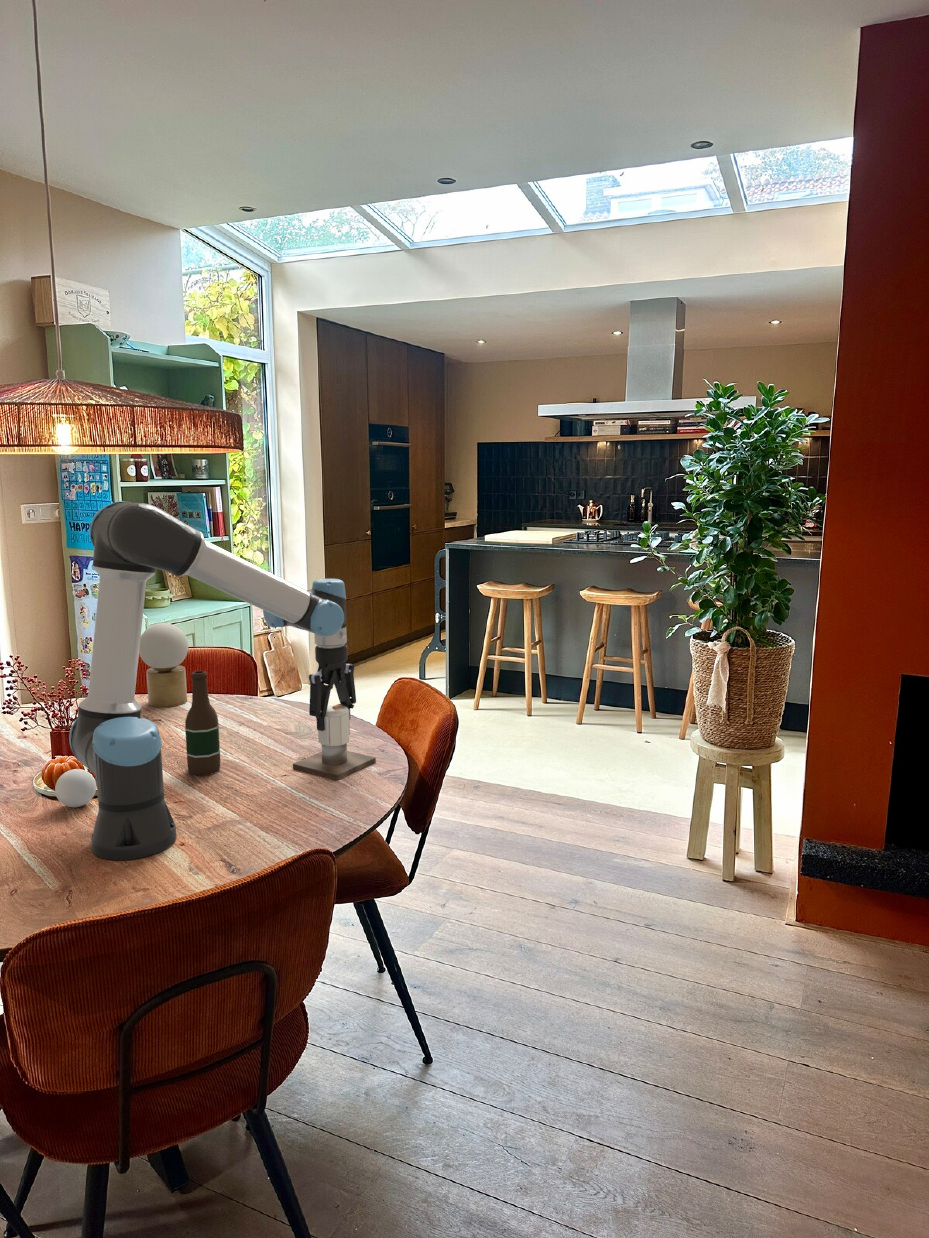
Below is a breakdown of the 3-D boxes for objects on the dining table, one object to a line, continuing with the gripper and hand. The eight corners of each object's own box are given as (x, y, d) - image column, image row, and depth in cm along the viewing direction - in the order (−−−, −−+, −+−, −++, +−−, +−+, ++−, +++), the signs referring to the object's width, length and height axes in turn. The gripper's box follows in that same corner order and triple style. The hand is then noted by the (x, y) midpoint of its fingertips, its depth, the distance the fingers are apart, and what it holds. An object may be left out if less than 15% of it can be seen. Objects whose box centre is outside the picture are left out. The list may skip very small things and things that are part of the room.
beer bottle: (211, 777, 195) (205, 676, 191) (181, 774, 197) (174, 675, 193) (227, 765, 203) (222, 668, 199) (197, 763, 205) (192, 667, 200)
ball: (52, 815, 174) (48, 778, 173) (61, 800, 182) (58, 765, 181) (93, 811, 176) (90, 775, 175) (101, 797, 184) (98, 762, 182)
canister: (335, 747, 198) (334, 712, 196) (314, 742, 201) (312, 708, 200) (354, 739, 203) (353, 705, 202) (333, 735, 207) (332, 701, 205)
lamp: (189, 709, 251) (184, 626, 246) (139, 712, 248) (133, 628, 243) (193, 696, 265) (188, 617, 261) (146, 698, 262) (140, 619, 258)
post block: (337, 779, 194) (336, 733, 192) (292, 768, 201) (291, 724, 199) (375, 762, 205) (374, 718, 203) (332, 752, 213) (330, 709, 211)
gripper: (314, 654, 188) (318, 752, 192) (370, 639, 204) (372, 730, 208) (289, 650, 192) (294, 747, 196) (346, 635, 208) (349, 725, 212)
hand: (334, 738), depth 202 cm, fingers closed on canister, 7 cm apart
